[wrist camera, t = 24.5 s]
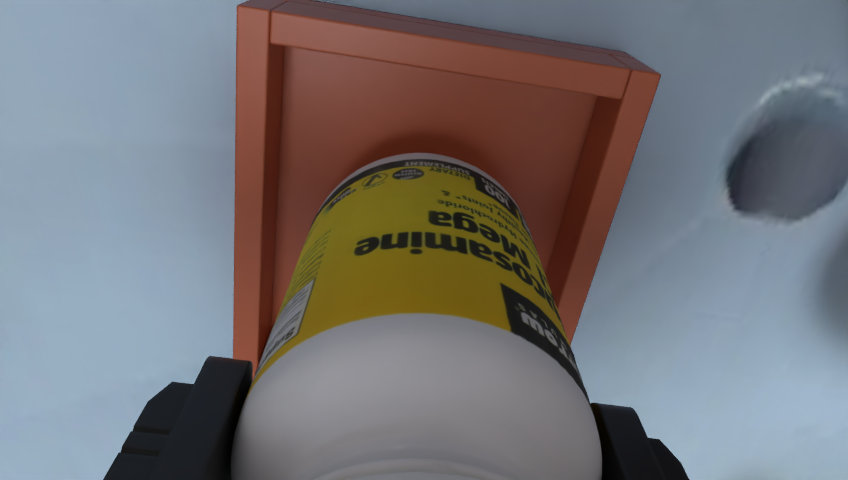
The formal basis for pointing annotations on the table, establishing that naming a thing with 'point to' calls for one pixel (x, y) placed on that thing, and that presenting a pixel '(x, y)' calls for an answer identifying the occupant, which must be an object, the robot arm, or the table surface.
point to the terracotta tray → (422, 134)
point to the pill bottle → (417, 342)
